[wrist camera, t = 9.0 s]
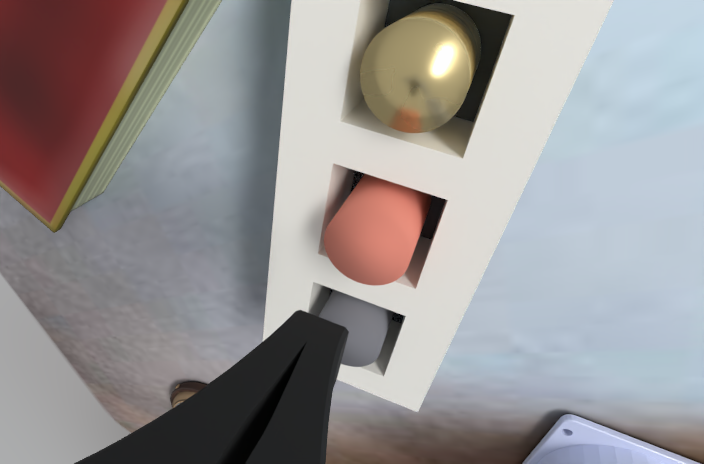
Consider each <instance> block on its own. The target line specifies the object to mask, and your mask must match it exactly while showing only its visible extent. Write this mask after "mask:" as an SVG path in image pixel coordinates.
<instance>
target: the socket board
mask: <svg viewBox="0 0 704 464" xmlns="http://www.w3.org/2000/svg"><path fill="white" fill-rule="evenodd" d="M455 1H459V2H463V3H467V4H471V5H475V6H479V7H483V8H487V9H491V10H495V11H499V12H503V13H508V14H512V16H511V19H510V22H509V25H508V28H507V30H506V33H505V36H504V39H503V41H502V44H501V47H500V50H499V53H498V55H497V58H496V61H495V64H494V67H493V69H492V72H491V75H490V78H489V81H488V83H487V86H486V89H485V92H484V94H483V97H482V100H481V103H480V106H479V108H478V111H477V114H476V117H475V120H474V122H472V121H468V120H465V119H461V118H458V117H454V116H453V117H452V118H451V119H450V120H449V121H448V122H446V123H445V124H444V125H442V126H440V127H438V128H436V129H434V130H431V131H428V132H423V133H406V132H402V131H398V130H395V129H393V128H391V127H389V126H387V125H386V124H384V123H383V122H381V121H380V120H379V119H378V118H377V117H376V116H375V115H374V114H373V113H372V111H371V110H370V108H369V107H368V105H367V103H366V101H365V99H364V96H363V93H362V89H361V84H360V69H361V63H362V59H363V56H364V53H365V51H366V49H367V47H368V45H369V44H370V42H371V41H372V40H373V38H374V37H375V36H376V35H377V34H378V33H379V32H381V31H382V30H383V29H384V26H385V21H386V16H387V11H388V6H389V2H390V0H292V1H291V13H290V24H289V36H288V48H287V60H286V72H285V84H284V95H283V107H282V119H281V131H280V143H279V154H278V166H277V178H276V190H275V202H274V213H273V225H272V237H271V249H270V261H269V272H268V284H267V296H266V308H265V320H264V331H263V341H264V340H265V339H267V338H268V337H269V336H270V335H271V334H272V333H273V332H275V331H276V330H277V329H278V328H279V327H280V326H281V325H282V324H283V323H284V322H285V321H286V320H287V319H288V318H289V317H290V316H291V315H292V314H293V313H294V312H295V311H298V310H302V311H305V312H308V313H310V314H313V315H315V316H319V315H320V313H321V311H322V309H323V307H324V306H325V304H326V302H327V300H328V299H329V296H330V291H331V289H334V290H337V291H339V292H342V293H345V294H347V295H350V296H353V297H356V298H358V299H361V300H364V301H366V302H369V303H372V304H374V305H377V306H380V307H383V308H385V309H388V310H391V311H393V312H396V313H399V314H401V315H404V317H403V320H402V323H399V322H396V321H394V320H391V323H390V326H389V329H388V331H387V334H386V337H385V340H384V343H383V345H382V348H381V351H380V354H379V356H378V358H377V359H376V360H375V361H374V362H373V363H372V364H370V365H367V366H363V367H352V366H346V365H343V364H341V365H340V369H339V372H338V376H337V380H339V381H342V382H344V383H347V384H349V385H352V386H354V387H357V388H359V389H362V390H364V391H366V392H369V393H371V394H374V395H376V396H379V397H381V398H384V399H386V400H389V401H391V402H394V403H396V404H398V405H401V406H403V407H406V408H408V409H411V410H413V411H416V412H418V411H419V408H420V406H421V404H422V402H423V400H424V398H425V396H426V394H427V392H428V390H429V387H430V385H431V383H432V381H433V379H434V377H435V375H436V373H437V371H438V369H439V366H440V364H441V362H442V360H443V358H444V356H445V354H446V352H447V350H448V348H449V345H450V343H451V341H452V339H453V337H454V335H455V333H456V331H457V329H458V327H459V324H460V322H461V320H462V318H463V316H464V314H465V312H466V310H467V308H468V306H469V303H470V301H471V299H472V297H473V295H474V293H475V291H476V289H477V287H478V285H479V282H480V280H481V278H482V276H483V274H484V272H485V270H486V268H487V266H488V264H489V261H490V259H491V257H492V255H493V253H494V251H495V249H496V247H497V245H498V243H499V240H500V238H501V236H502V234H503V232H504V230H505V228H506V226H507V224H508V222H509V219H510V217H511V215H512V213H513V211H514V209H515V207H516V205H517V203H518V201H519V198H520V196H521V194H522V192H523V190H524V188H525V186H526V184H527V182H528V180H529V177H530V175H531V173H532V171H533V169H534V167H535V165H536V163H537V161H538V159H539V156H540V154H541V152H542V150H543V148H544V146H545V144H546V142H547V140H548V138H549V135H550V133H551V131H552V129H553V127H554V125H555V123H556V121H557V119H558V117H559V114H560V112H561V110H562V108H563V106H564V104H565V102H566V100H567V98H568V96H569V93H570V91H571V89H572V87H573V85H574V83H575V81H576V79H577V77H578V75H579V72H580V70H581V68H582V66H583V64H584V62H585V60H586V58H587V56H588V54H589V51H590V49H591V47H592V45H593V43H594V41H595V39H596V37H597V35H598V33H599V30H600V28H601V26H602V24H603V22H604V20H605V18H606V16H607V14H608V12H609V9H610V7H611V5H612V3H613V1H614V0H455ZM355 170H356V171H359V172H362V173H365V174H368V175H371V176H374V177H377V178H381V179H384V180H387V181H390V182H393V183H396V184H399V185H402V186H406V187H409V188H412V189H415V190H418V191H421V192H424V193H427V194H430V195H434V196H437V197H440V198H443V199H446V200H445V203H444V206H443V209H442V211H441V214H440V217H439V220H438V223H437V225H436V228H435V231H434V234H433V237H432V239H428V238H425V237H422V236H419V239H418V241H417V244H416V247H415V250H414V252H413V255H412V258H411V261H410V263H409V266H408V268H407V270H406V272H405V273H404V274H403V275H402V276H401V277H400V278H399V279H397V280H396V281H394V282H392V283H389V284H385V285H375V286H374V285H366V284H362V283H358V282H356V281H354V280H352V279H350V278H348V277H346V276H345V275H343V274H342V273H341V272H340V271H339V270H338V269H337V268H336V267H335V266H334V265H333V264H332V262H331V261H330V259H329V257H328V255H327V253H326V250H325V246H324V235H325V231H326V228H327V226H328V225H329V223H330V222H331V220H332V219H333V217H334V216H335V215H336V213H337V212H338V210H339V209H340V208H341V206H342V205H343V203H344V202H345V201H346V199H347V198H348V196H349V195H350V193H351V188H352V183H353V178H354V173H355Z"/></svg>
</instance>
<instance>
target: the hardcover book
mask: <svg viewBox="0 0 704 464" xmlns="http://www.w3.org/2000/svg"><path fill="white" fill-rule="evenodd" d="M221 1H222V0H0V186H1V187H2V188H3V189H4V190H5V191H6V192H8V193H9V194H10V195H11V196H12V197H13V198H15V199H16V200H17V201H18V202H19V203H20V204H21V205H23V206H24V207H25V208H26V209H27V210H28V211H29V212H31V213H32V214H33V215H34V216H35V217H36V218H38V219H39V220H40V221H41V222H42V223H43V224H44V225H46V226H47V227H48V228H49V229H50V230H51V231H53V232H54V233H55V232H56V231H58V230H60V229H61V227H62V226H63V224H64V222H65V220H66V219H67V217H68V215H69V213H70V212H71V211H72V210H74V209H76V208H78V207H79V206H81V205H83V204H84V203H86V202H88V201H90V200H91V199H93V198H95V197H96V196H98V195H100V194H102V193H103V192H104V190H105V189H106V187H107V186H108V184H109V182H110V181H111V179H112V178H113V176H114V174H115V173H116V171H117V169H118V168H119V166H120V165H121V163H122V161H123V160H124V158H125V157H126V155H127V153H128V152H129V150H130V148H131V147H132V145H133V144H134V142H135V140H136V139H137V137H138V136H139V134H140V132H141V131H142V129H143V127H144V126H145V124H146V123H147V121H148V119H149V118H150V116H151V115H152V113H153V111H154V110H155V108H156V106H157V105H158V103H159V102H160V100H161V98H162V97H163V95H164V94H165V92H166V90H167V89H168V87H169V85H170V84H171V82H172V81H173V79H174V77H175V76H176V74H177V73H178V71H179V69H180V68H181V66H182V64H183V63H184V61H185V60H186V58H187V56H188V55H189V53H190V52H191V50H192V48H193V47H194V45H195V43H196V42H197V40H198V39H199V37H200V35H201V34H202V32H203V31H204V29H205V27H206V26H207V24H208V22H209V21H210V19H211V18H212V16H213V14H214V13H215V11H216V10H217V8H218V6H219V5H220V3H221Z"/></svg>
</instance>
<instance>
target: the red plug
mask: <svg viewBox="0 0 704 464" xmlns="http://www.w3.org/2000/svg"><path fill="white" fill-rule="evenodd" d="M431 199H432V198H431V195H430V194H427V193H424V192H421V191H418V190H415V189H412V188H409V187H406V186H402V185H399V184H396V183H393V182H390V181H387V180H384V179H381V178H377V177H374V176H371V175H368V174H364V175H363V177H362V178H361V179H360V181H359V182H358V184H357V185H356V187H355V188H354V189H353V191H352V192H351V194H350V195H349V196H348V198H347V199H346V201H345V202H344V203H343V205H342V206H341V208H340V209H339V210H338V212H337V213H336V215H335V216H334V217H333V219H332V220H331V222H330V223H329V225H328V226H327V228H326V231H325V235H324V246H325V250H326V253H327V255H328V257H329V259H330V261H331V262H332V264H333V265H334V266H335V267H336V268H337V269H338V270H339V271H340V272H341V273H342V274H343V275H345V276H346V277H348V278H350V279H352V280H354V281H356V282H358V283H362V284H366V285H374V286H375V285H385V284H389V283H392V282H394V281H396V280H397V279H399V278H400V277H401V276H402V275H403V274H404V273H405V272H406V270H407V268H408V266H409V263H410V261H411V258H412V255H413V252H414V250H415V247H416V244H417V241H418V239H419V236H420V233H421V230H422V228H423V225H424V222H425V219H426V217H427V214H428V211H429V209H430V205H431Z"/></svg>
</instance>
